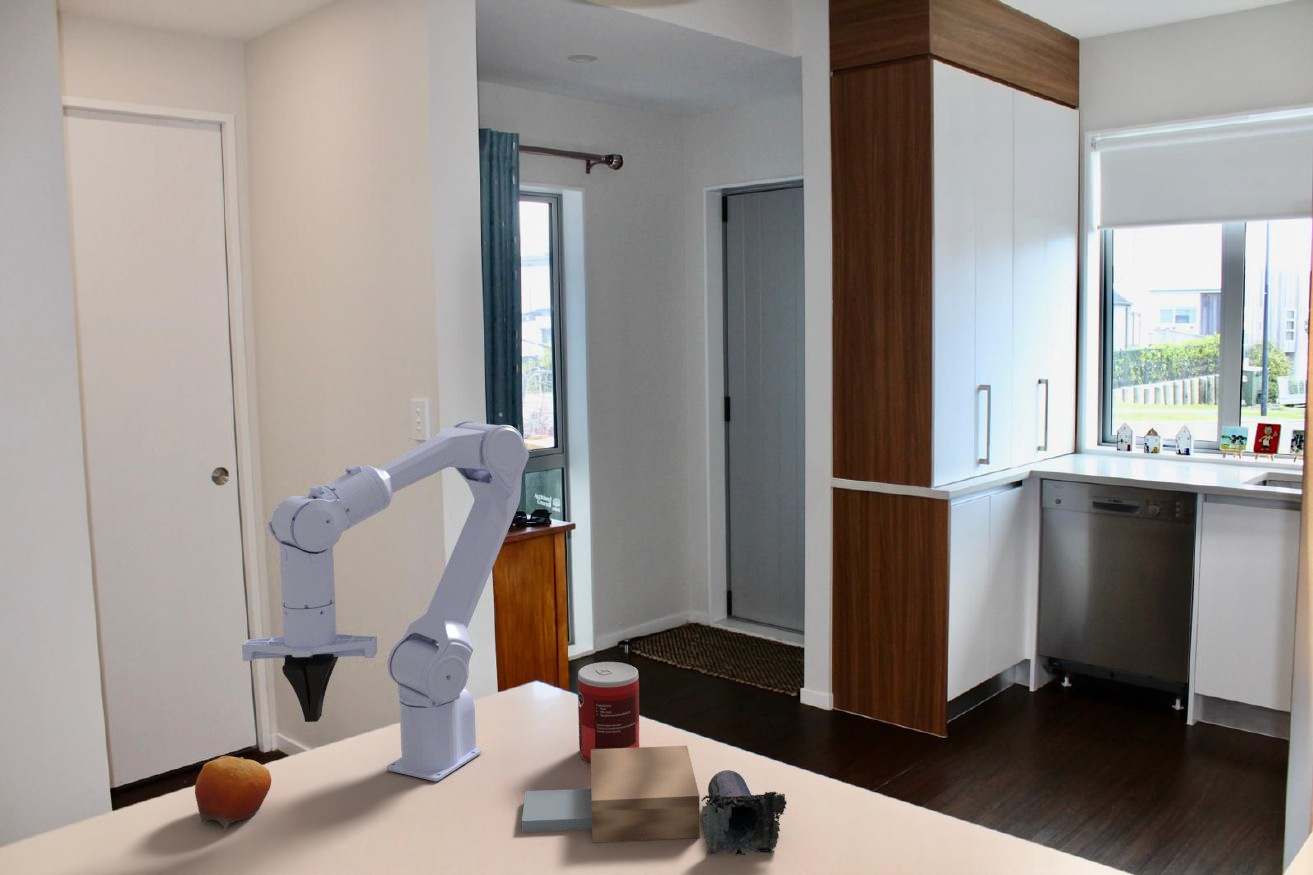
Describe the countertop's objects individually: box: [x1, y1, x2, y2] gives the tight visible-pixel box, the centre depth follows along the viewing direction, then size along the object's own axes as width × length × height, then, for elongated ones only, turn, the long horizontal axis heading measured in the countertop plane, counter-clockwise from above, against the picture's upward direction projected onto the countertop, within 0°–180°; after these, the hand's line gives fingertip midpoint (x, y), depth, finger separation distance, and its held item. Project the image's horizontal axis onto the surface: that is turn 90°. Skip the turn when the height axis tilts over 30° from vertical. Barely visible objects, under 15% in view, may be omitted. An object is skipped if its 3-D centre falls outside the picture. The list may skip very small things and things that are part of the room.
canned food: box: [577, 661, 640, 764], centre depth 129 cm, size 8×8×11 cm
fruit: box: [194, 755, 272, 833], centre depth 114 cm, size 8×8×8 cm
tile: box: [521, 788, 592, 833], centre depth 114 cm, size 13×7×2 cm, turn 94°
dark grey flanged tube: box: [700, 769, 788, 856], centre depth 110 cm, size 9×8×12 cm
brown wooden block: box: [590, 745, 701, 844], centre depth 114 cm, size 12×13×5 cm
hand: (313, 718), depth 115 cm, fingers closed
